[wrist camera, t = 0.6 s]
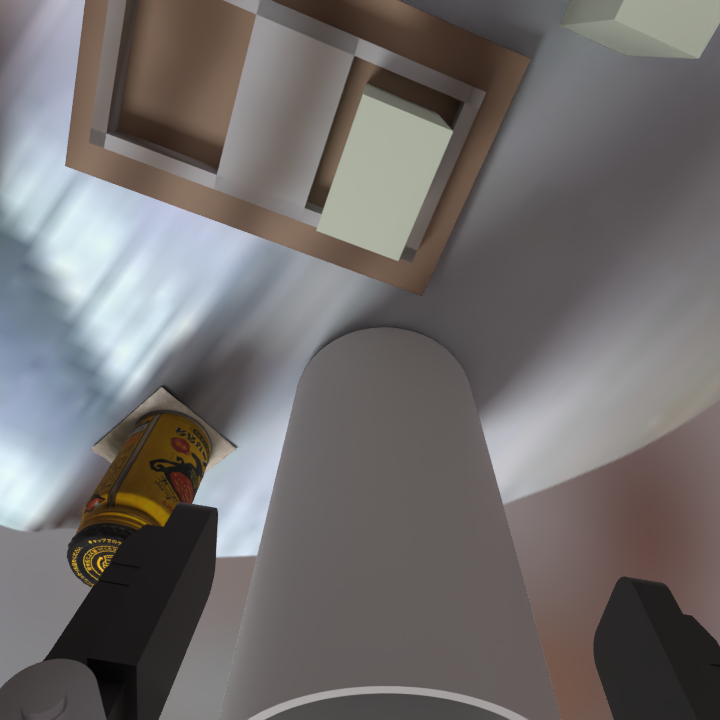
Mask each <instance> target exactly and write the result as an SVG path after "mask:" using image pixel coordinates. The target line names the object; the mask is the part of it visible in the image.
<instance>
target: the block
mask: <svg viewBox="0 0 720 720" xmlns="http://www.w3.org/2000/svg"><path fill="white" fill-rule="evenodd" d="M452 133H453V130H452V129H451V128H450V127H449V126H448V125H447V124H446V122H445V121H444V120H443V119H442V118H441V117H440V116H439V114H438V113H437V112H435V111H433V110H430V109H428V108H426V107H423V106H421V105H418V104H416V103H414V102H411V101H409V100H406V99H404V98H402V97H399V96H397V95H394V94H392V93H390V92H387V91H385V90H382V89H380V88H378V87H375V86H373V85H370V84H368V83H366V86H365V88H364V91H363V94H362V97H361V100H360V103H359V106H358V109H357V112H356V115H355V118H354V121H353V123H352V126H351V129H350V132H349V135H348V138H347V141H346V144H345V147H344V150H343V153H342V156H341V158H340V161H339V164H338V167H337V170H336V173H335V176H334V179H333V182H332V185H331V188H330V191H329V194H328V197H327V200H326V203H325V206H324V209H323V212H322V215H321V218H320V221H319V224H318V227H317V230H316V231H318V232H321V233H324V234H326V235H329V236H332V237H335V238H337V239H340V240H343V241H345V242H348V243H351V244H353V245H356V246H359V247H361V248H364V249H367V250H369V251H372V252H375V253H378V254H380V255H383V256H386V257H388V258H391V259H394V260H396V261H399V258H400V256H401V254H402V251H403V249H404V247H405V244H406V242H407V239H408V237H409V235H410V232H411V230H412V228H413V225H414V223H415V221H416V218H417V216H418V214H419V211H420V209H421V206H422V204H423V202H424V199H425V197H426V195H427V192H428V190H429V188H430V185H431V183H432V181H433V178H434V176H435V173H436V171H437V169H438V166H439V164H440V162H441V159H442V157H443V155H444V152H445V150H446V148H447V145H448V143H449V140H450V138H451V136H452Z"/></svg>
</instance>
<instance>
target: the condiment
mask: <svg viewBox="0 0 720 720" xmlns="http://www.w3.org/2000/svg"><path fill="white" fill-rule="evenodd" d="M91 450H92V451H94V452H96V453H97V454H98V455H100V456H102V457H104V458H105V459H106V460H108V461H109V462H111V463H112V464H111V465H110V467H109V469H108V470H107V472H106V474H105V475H104V477H103V478H102V480H101V482H100V483H99V485H98V486H97V488H96V489H95V491H94V492H93V494H92V496H91V497H90V498H89V500H88V502H87V503H86V505H85V507H84V509H83V512H82V515H81V524H80V526H79V528H78V530H77V532H76V533H77V534H76V535H75V536H74V537H73V538H72V541H71V542H70V543H69V545H68V551H67V559H68V562H69V565H70V567H71V569H72V571H73V572H74V574H75V575H76V576H77V577H78V578H79V579H80V580H81V581H82V582H83V583H85V584H86V585H88V586H90V587H93V586H94V584H97V581H98V578H99V577H100V575H101V574H102V572H103V571H104V569H105V568H106V566H108V565H109V562H110V560H111V559H112V557H113V556H114V554H115V553H116V551H117V550H118V548H119V547H120V545H121V543H122V542H123V541H124V540H125V539H126V538H128V537H129V536H130V535H132V534H133V533H134V532H136V531H137V530H139V529H140V528H141V527H143V526H144V525H145V524H149V525H155V526H161V527H164V525H165V523H166V522H167V520H168V518H169V517H170V515H171V513H172V511H173V510H174V508H175V506H176V505H177V504H178V503H179V502H183V503H189V504H192V502H193V501H194V497H195V495H196V493H197V490H198V488H199V485H200V482H201V480H202V478H203V476H204V473H205V472H207V471H208V470H209V469H211V468H212V467H213V466H215V465H216V464H217V463H218V462H220V461H221V460H222V459H224V458H225V457H226V456H228V455H229V454H230V453H232V452H233V451H235V450H236V448H235V447H233V446H232V445H231V444H230V443H229V442H228V441H226V440H225V439H224V438H223V437H222V436H220V435H219V433H218V432H216V431H215V430H214V429H213V428H212V427H210V426H209V425H208V424H207V423H206V422H205V421H203V420H202V419H201V418H200V417H198V416H197V415H196V414H195V413H193V412H192V411H191V410H190V409H189V408H187V407H186V406H185V405H183V404H182V403H181V402H179V401H178V400H177V399H175V398H174V397H173V396H172V395H171V394H169V393H168V392H167V391H166V390H165V389H164V388H162V387H161V388H160V389H159V390H158V391H156V392H155V393H154V394H153V395H152V396H151V397H149V398H148V399H147V400H146V401H145V402H144V403H143V404H142V405H140V406H139V407H138V408H137V409H136V410H134V411H133V412H132V413H131V414H130V415H129V416H128V417H127V418H126V419H124V420H123V421H122V422H121V423H120V424H119V425H118V426H117V427H115V428H114V429H113V430H112V431H111V432H110V433H109V434H107V435H106V436H105V437H104V438H103V439H102V440H101V441H100V442H99V443H98V444H96V445H95V446H94V447H93V448H92V449H91Z"/></svg>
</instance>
